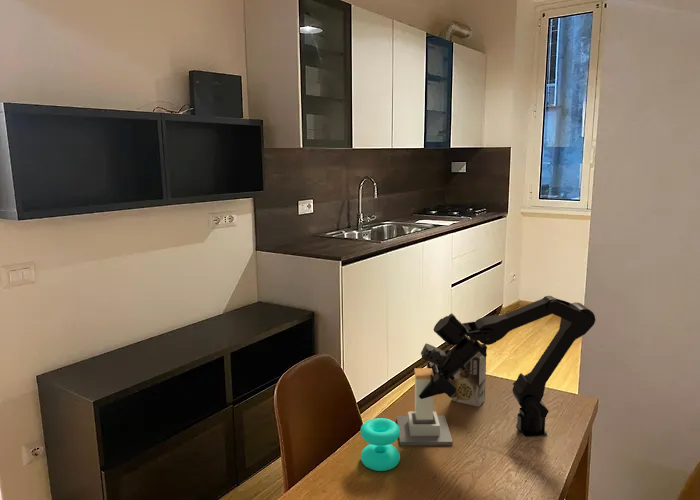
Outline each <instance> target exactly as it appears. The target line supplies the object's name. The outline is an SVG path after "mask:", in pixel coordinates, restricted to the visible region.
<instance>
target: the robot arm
mask: <svg viewBox="0 0 700 500" xmlns="http://www.w3.org/2000/svg"><path fill="white" fill-rule="evenodd" d="M550 315H555V316H557V317H559V318H560V323H559V327H558V328H559V329H558V330H557V332H556V334H555V335H554V336H553V338H552V340H551V341H550V343H549V344H548V346H547V347H546V348H545V350H544V352H543V354H541V356H540V358H539V359H538V360H537V362H536V363H535V365H534V367H532V369H531V371H530V372H528V373H527V374H525V375H524V374H523V373H522V372H520V373H519V374H518V376H517V378H516V380H515V381H514V382H513V383H512V385H513V387H512V389H511V391H512V394H513V396H514V398H515V400H516V402H517V403H518V405H519V406H520V407H519V412H518V413H517V421H516V424H515V426H516V427H517V429H518V430H519V432H521V433H522V435H523V436H524V437H527V438H528V437H530V438H531V437H543V436H544V437H545V436H548V432H547V431H546V418H547V416H548V414H549V409H548V408H547V406H546V405H545V403H544V402H543V401H542V400H543V398H544V396H545V391H546V390H545V389H546V385H547V382H548V381H549V379H550V377H551V376H552V374H553V373H554V372H555V370H556V369H557V368H558V366H559V364H560V363H561V362H562V360H563V358H564V357H565V355H566V354H567V353H568V351H569V350H570V348H571V347H572V345H573V344H574V342H575V341H576V340H578V339H579V338H581V337H583V336H584V335H586V334H587V333H588V332H589V331H590V330H591V329H592V327H594V325H595V323H596V315H595V313H594V312H593V311H592V310H591V309H590V308H588V307H586V306H585V305H584V304H583V303H580V302H570V301H569V302H568V301H566V300H563V299H559V298H557V297H553V296H552V295H546V296H544V297H543V298H540V299H538V300H536V301H534V302H531V303H528V304H526V305H523V306H521V307H519V308H518V307H517V308H516V309H513V310H511V311H509V312H508V311H507V312H506V313H503V314H496V315H494V314H493V315H487V316H483V317H480V318H477V320H475V321H469V322H463V323H461V321H460V320H459V319H457V317H456V316H455V315H454V313H452V312H451V313H450V314H449V315H446V316H444V317H442V318H440V319H439V320H438V321H437V323H435V325H434V327H433V332H434V333H435V334H436V335H437V336H438V337H440V338H441V339H442V341H444V342H445V343H446V344H447V346H451V345H452V347H451V348H449V347H447V348H445V349H444V350H442V349H440V348H439V347H436V346H434V345H432V344H429V343H425V344H424V346H423V348H422V350H421V352H420V355H421V359H422V360H424V361H426V368H432V371H433V374H434V377H433V376H432V375H430V383H429V384H428V385H427V386H426V387H425V389H424V390H423V391H422V392H421V394H420V395H419V398H421V399H424V398H427V397H431V396H433V397H435V396H439V395H442V394H443V395H444V394H446V395H447V396H448V397H449V398H451V399H452V397H453V396H454V395H455V394H456V387H455V384H454V382H453V380H454V379H455V377H454V375H455V374H456V373H457V372H459V371H460V370H461V369H462V370H463V371H464V370H465V369H466V367H465V365H466V364H467V363H468V362H469V361H470V360H471V359H473V358H474V357H475V356H476V355H477V354H478V353H479V352H480V353H481V354H482V355H483V356H484V357H486V358H487V356H488V354H487V349H488V346H491V345H494V344H495V343H497V342H499V341H500V340H502V339H503V338H504V337H505V336H506V335H507V334H508V333H510V332H511V331H513V330H515V329H518V328H521V327H523V326H526V325H528V324H531V323H532V322H535V321H539V320H541V319H542V318H545V317H548V316H550Z"/></svg>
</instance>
